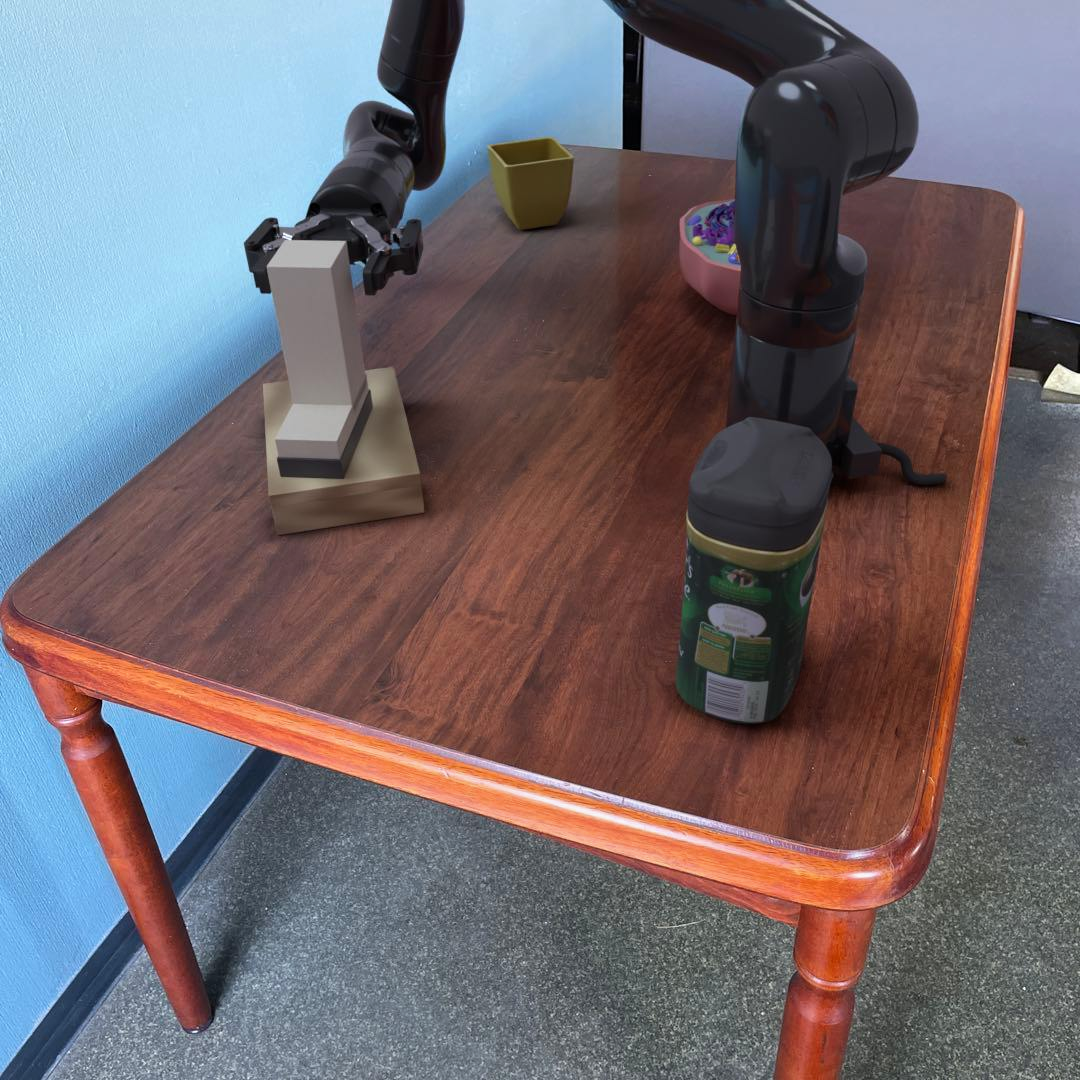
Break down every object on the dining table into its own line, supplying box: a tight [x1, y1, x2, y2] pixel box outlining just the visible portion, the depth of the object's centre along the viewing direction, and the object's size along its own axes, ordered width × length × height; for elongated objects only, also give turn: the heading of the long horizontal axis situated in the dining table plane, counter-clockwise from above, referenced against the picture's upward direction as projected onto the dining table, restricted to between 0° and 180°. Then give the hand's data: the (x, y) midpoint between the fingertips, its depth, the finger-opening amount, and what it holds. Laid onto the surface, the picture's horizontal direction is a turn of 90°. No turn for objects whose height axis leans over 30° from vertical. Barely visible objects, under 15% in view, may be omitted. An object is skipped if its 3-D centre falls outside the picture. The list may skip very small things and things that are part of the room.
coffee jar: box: [675, 417, 833, 725], centre depth 67 cm, size 10×8×19 cm
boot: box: [267, 240, 373, 479], centre depth 85 cm, size 11×5×16 cm, turn 175°
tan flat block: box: [262, 366, 425, 536], centre depth 93 cm, size 12×18×4 cm, turn 13°
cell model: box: [678, 197, 741, 317], centre depth 114 cm, size 17×20×11 cm
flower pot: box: [487, 136, 575, 231], centre depth 134 cm, size 9×9×9 cm
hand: (315, 283), depth 85 cm, fingers open, 8 cm apart
